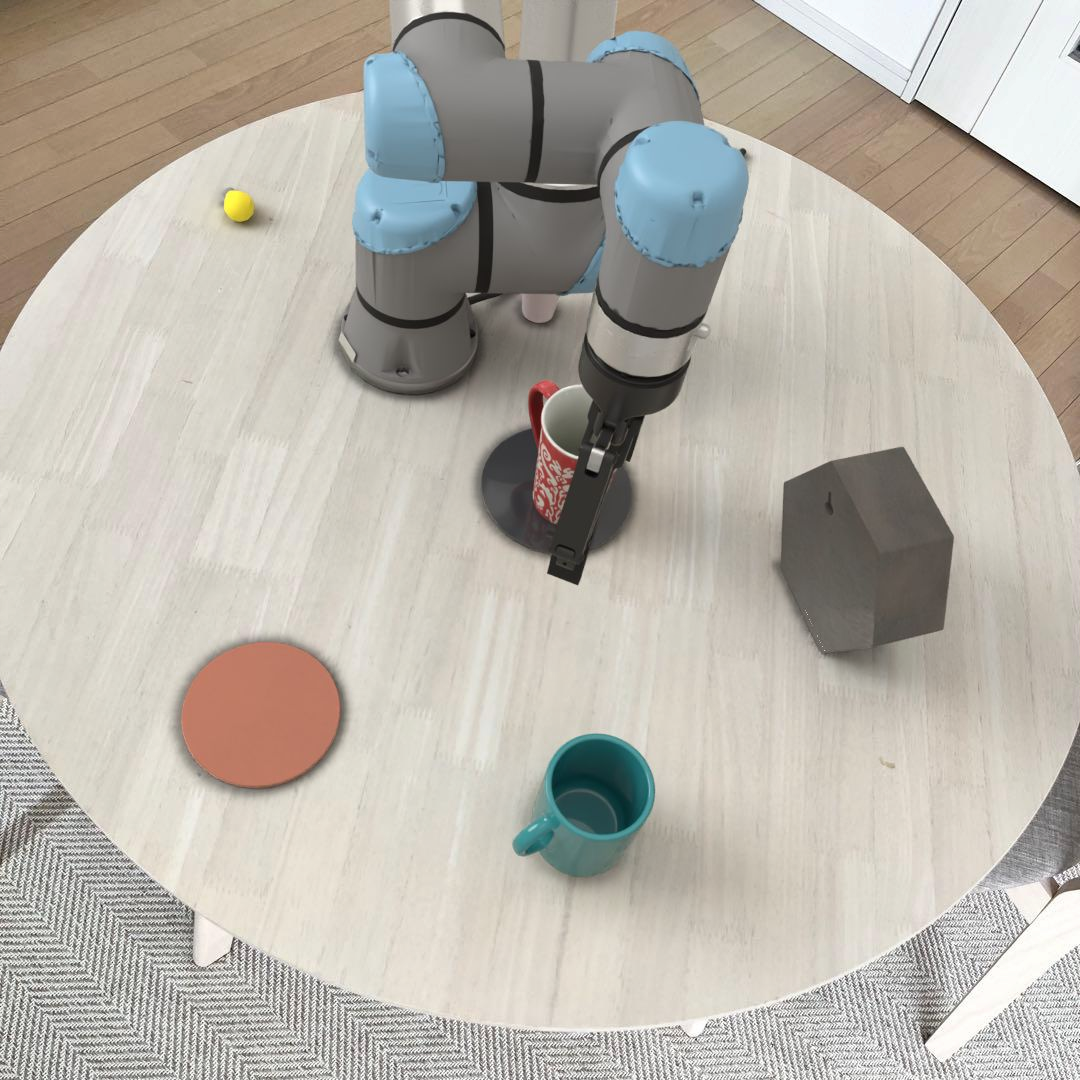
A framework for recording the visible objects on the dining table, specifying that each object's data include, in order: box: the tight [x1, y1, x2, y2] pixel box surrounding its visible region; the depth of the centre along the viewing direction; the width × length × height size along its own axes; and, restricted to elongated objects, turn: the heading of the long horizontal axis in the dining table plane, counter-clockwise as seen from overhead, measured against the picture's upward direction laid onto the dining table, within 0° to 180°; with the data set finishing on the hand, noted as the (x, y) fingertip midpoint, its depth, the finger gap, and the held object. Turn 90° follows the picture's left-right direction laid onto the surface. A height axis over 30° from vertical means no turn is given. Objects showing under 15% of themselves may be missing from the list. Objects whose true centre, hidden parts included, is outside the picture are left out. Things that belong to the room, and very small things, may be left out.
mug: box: [527, 379, 617, 525], centre depth 113 cm, size 13×9×14 cm
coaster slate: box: [480, 427, 633, 555], centre depth 119 cm, size 16×16×1 cm
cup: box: [511, 733, 656, 878], centre depth 95 cm, size 9×12×11 cm
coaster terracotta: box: [180, 641, 341, 789], centre depth 102 cm, size 14×14×1 cm
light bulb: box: [223, 187, 255, 223], centre depth 134 cm, size 3×6×4 cm, turn 27°
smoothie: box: [521, 294, 561, 324], centre depth 126 cm, size 6×6×14 cm
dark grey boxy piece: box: [780, 446, 955, 654], centre depth 109 cm, size 17×8×21 cm
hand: (591, 512), depth 95 cm, fingers open, 13 cm apart
